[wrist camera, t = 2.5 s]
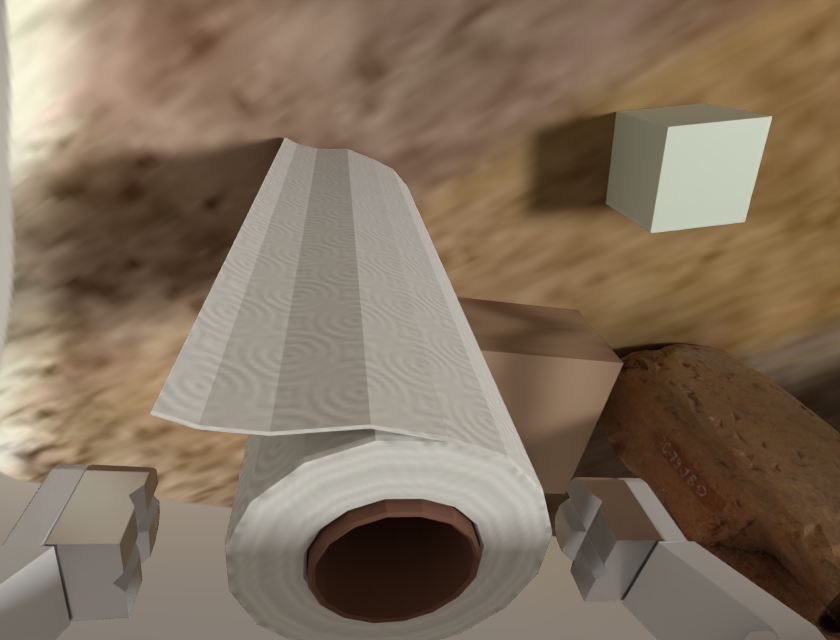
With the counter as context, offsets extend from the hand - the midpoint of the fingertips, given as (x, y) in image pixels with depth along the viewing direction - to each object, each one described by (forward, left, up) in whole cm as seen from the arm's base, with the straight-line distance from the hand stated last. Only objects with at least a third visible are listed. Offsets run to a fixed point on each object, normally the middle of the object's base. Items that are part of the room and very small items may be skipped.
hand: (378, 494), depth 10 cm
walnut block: (-10, +10, -20) cm, 25 cm away
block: (-23, +10, -20) cm, 32 cm away
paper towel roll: (0, 0, -20) cm, 20 cm away
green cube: (-16, -5, -20) cm, 26 cm away
